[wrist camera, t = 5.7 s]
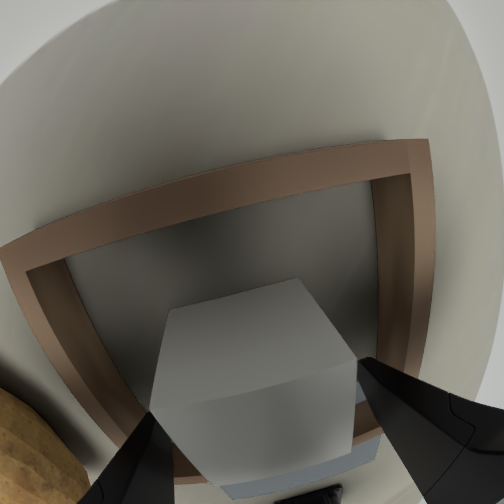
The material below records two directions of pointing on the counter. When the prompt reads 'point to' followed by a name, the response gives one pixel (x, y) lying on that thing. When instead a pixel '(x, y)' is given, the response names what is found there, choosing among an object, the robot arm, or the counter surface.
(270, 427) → the white cube
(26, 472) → the potato
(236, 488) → the mat
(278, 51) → the counter surface
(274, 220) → the counter surface
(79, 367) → the bin
